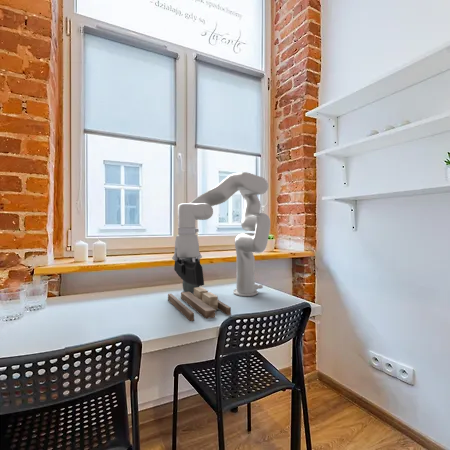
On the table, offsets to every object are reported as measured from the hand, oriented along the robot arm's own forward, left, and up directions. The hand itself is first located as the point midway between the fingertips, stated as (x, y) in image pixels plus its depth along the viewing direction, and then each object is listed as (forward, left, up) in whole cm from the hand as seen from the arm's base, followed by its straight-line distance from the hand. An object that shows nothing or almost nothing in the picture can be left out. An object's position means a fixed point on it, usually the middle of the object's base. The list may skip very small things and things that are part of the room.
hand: (187, 273), depth 131 cm
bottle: (-12, -28, -16) cm, 34 cm away
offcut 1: (-9, -7, -16) cm, 19 cm away
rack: (-4, 0, -15) cm, 16 cm away
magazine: (0, 0, -4) cm, 4 cm away
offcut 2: (-9, +4, -16) cm, 18 cm away
